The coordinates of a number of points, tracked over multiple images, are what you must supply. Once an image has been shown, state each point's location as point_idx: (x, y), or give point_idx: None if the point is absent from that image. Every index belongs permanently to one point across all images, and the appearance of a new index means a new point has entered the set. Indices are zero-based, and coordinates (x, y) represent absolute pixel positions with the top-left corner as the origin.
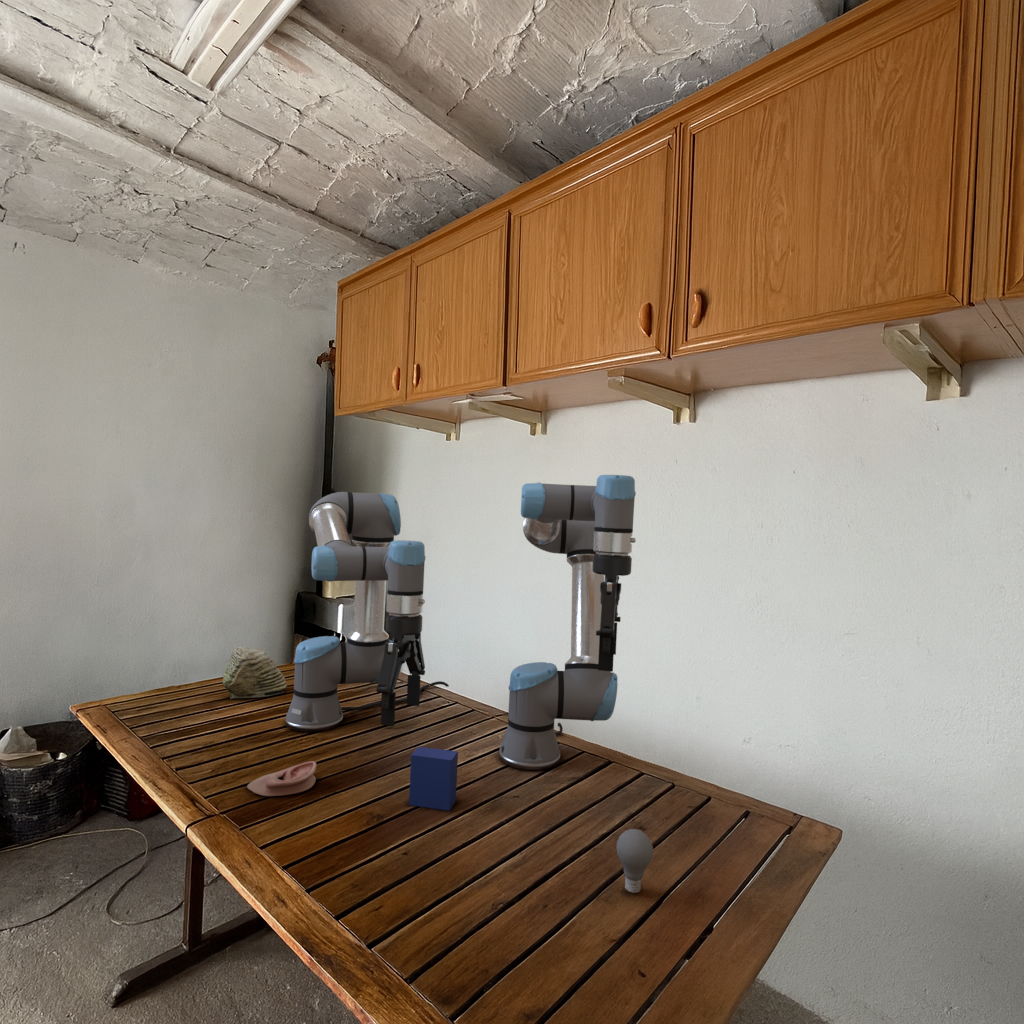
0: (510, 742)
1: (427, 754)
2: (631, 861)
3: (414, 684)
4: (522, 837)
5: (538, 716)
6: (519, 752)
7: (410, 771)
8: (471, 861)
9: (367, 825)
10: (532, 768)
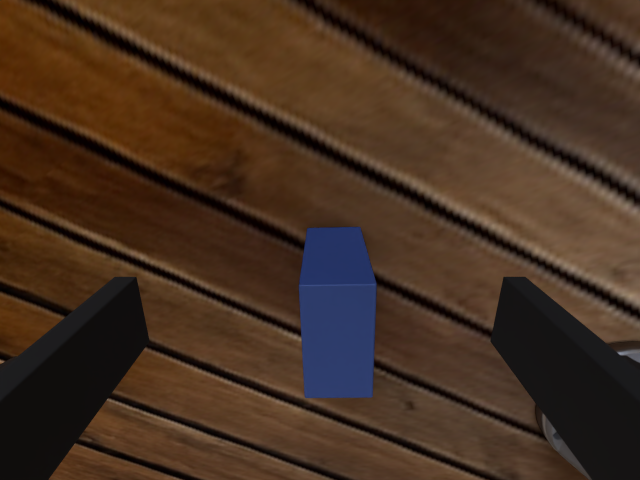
0: None
1: (320, 329)
2: None
3: (588, 424)
4: (266, 436)
5: None
6: None
7: (302, 261)
8: (164, 387)
9: (188, 176)
10: (538, 418)
